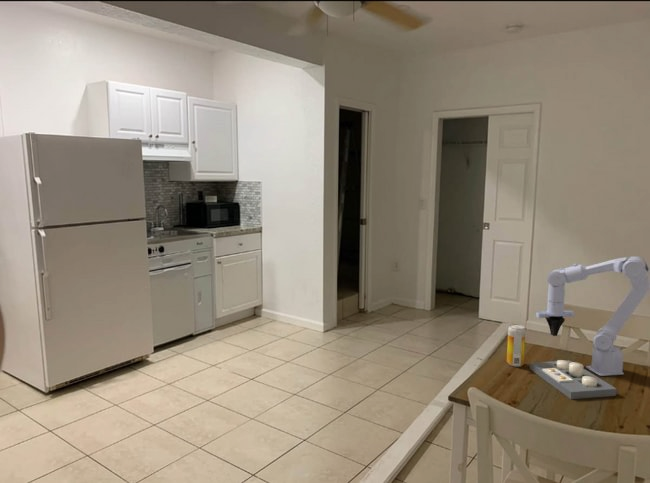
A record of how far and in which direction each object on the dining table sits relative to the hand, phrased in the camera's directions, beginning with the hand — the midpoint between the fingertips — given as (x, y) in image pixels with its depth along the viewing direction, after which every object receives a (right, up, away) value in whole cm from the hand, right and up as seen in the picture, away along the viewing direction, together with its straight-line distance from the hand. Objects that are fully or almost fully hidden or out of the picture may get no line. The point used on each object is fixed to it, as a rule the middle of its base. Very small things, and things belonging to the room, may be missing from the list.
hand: (553, 335), depth 180 cm
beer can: (-16, -11, -1) cm, 19 cm away
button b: (-1, -11, -17) cm, 20 cm away
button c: (0, -14, -24) cm, 27 cm away
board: (-3, -13, -17) cm, 21 cm away
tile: (-8, -11, -18) cm, 22 cm away
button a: (-2, -12, -10) cm, 15 cm away
